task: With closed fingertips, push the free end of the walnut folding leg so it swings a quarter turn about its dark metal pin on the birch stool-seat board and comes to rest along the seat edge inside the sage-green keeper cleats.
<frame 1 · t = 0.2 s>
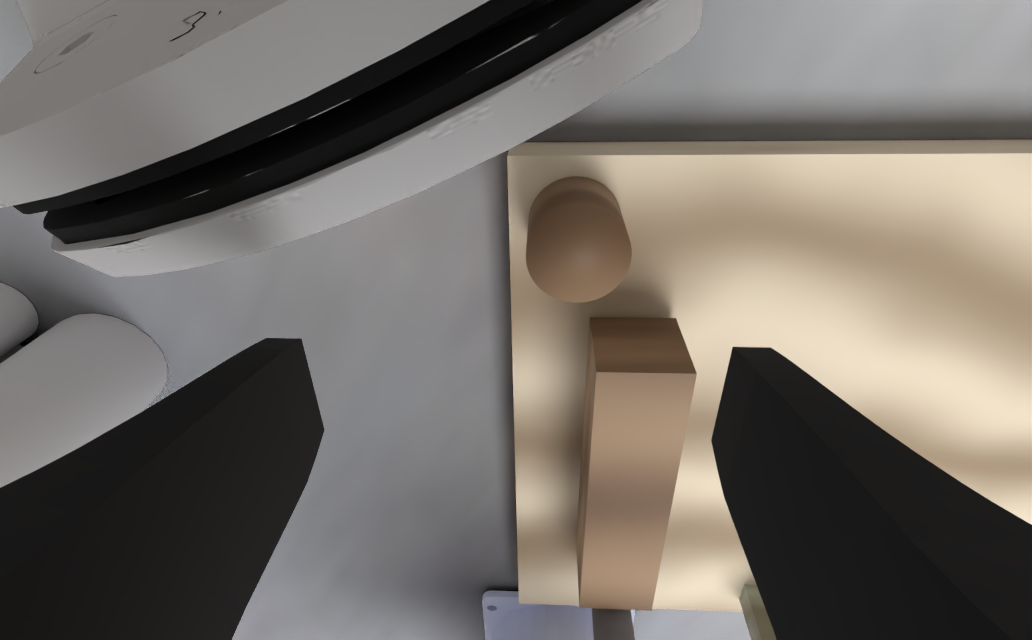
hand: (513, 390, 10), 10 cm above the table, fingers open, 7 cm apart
folding leg: (623, 476, 20), point 3 cm above the table, hinge at 0.0°
vase: (36, 364, 23), on the table
seat board: (788, 418, 22), on the table
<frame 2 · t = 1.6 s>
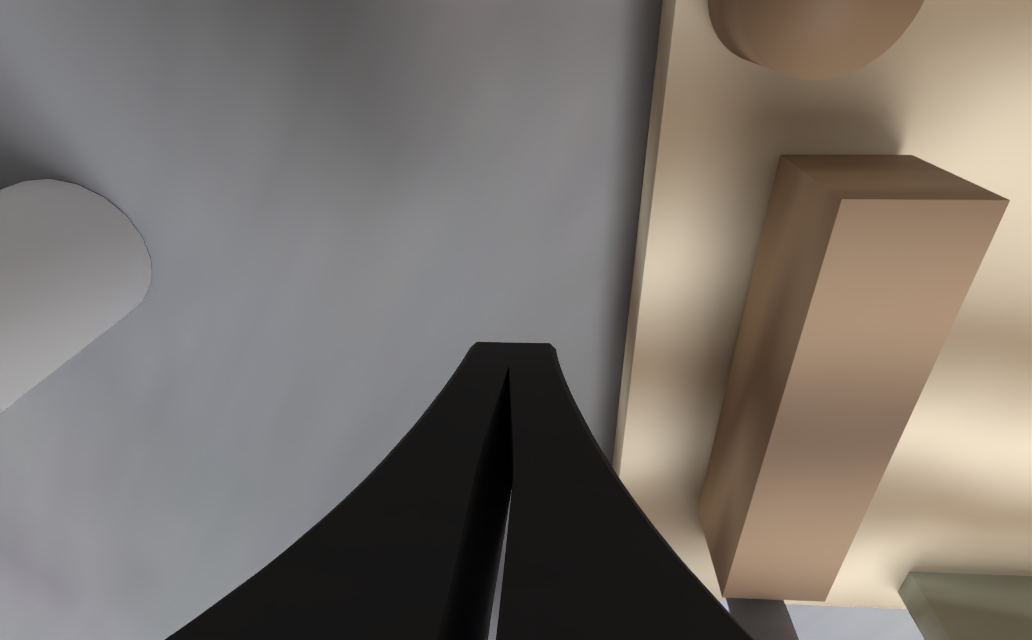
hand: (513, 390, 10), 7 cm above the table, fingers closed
folding leg: (805, 404, 14), point 3 cm above the table, hinge at 0.0°
seat board: (1004, 339, 16), on the table
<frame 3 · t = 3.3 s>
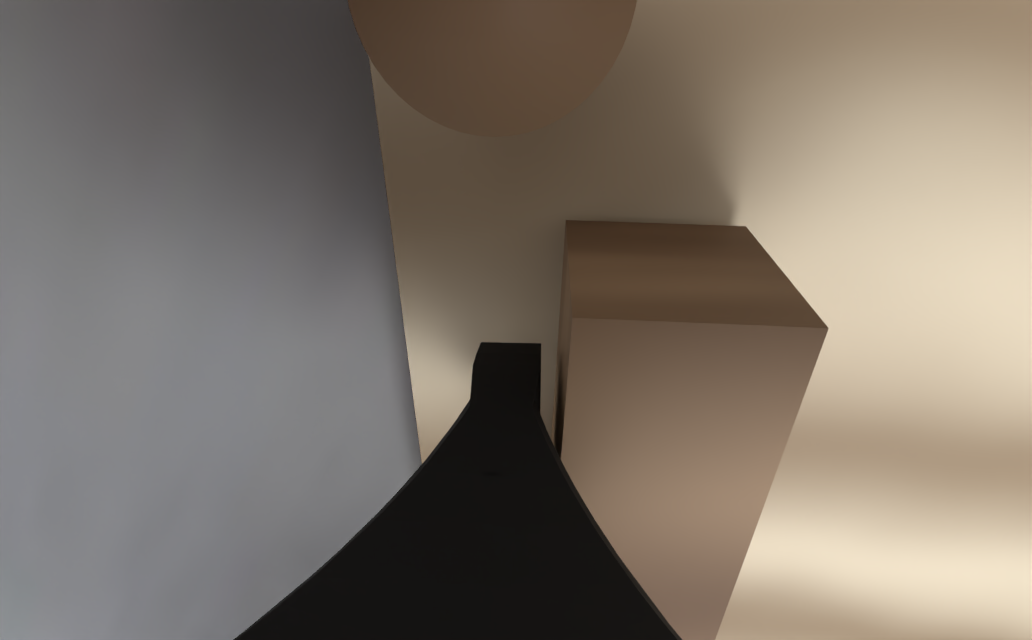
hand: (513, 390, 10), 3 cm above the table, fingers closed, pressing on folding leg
folding leg: (623, 542, 10), point 3 cm above the table, hinge at 1.4°, touching gripper
seat board: (903, 434, 13), on the table
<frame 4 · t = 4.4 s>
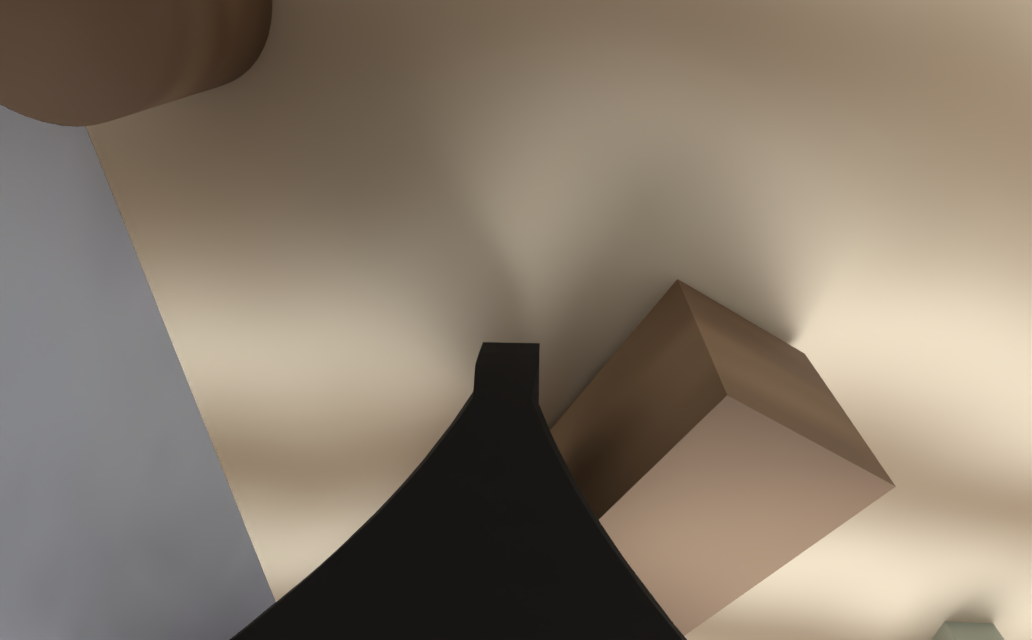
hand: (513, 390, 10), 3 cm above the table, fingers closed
folding leg: (561, 570, 11), point 3 cm above the table, hinge at 30.7°, touching gripper
seat board: (705, 424, 13), on the table
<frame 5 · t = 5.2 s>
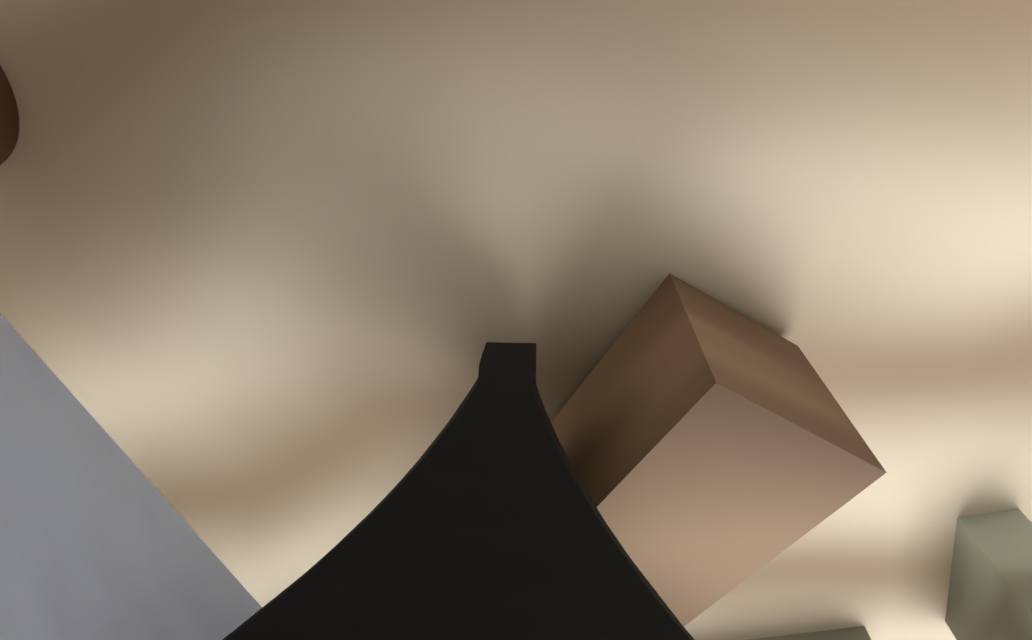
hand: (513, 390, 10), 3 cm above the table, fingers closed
folding leg: (561, 565, 11), point 3 cm above the table, hinge at 46.8°, touching gripper
seat board: (614, 361, 12), on the table
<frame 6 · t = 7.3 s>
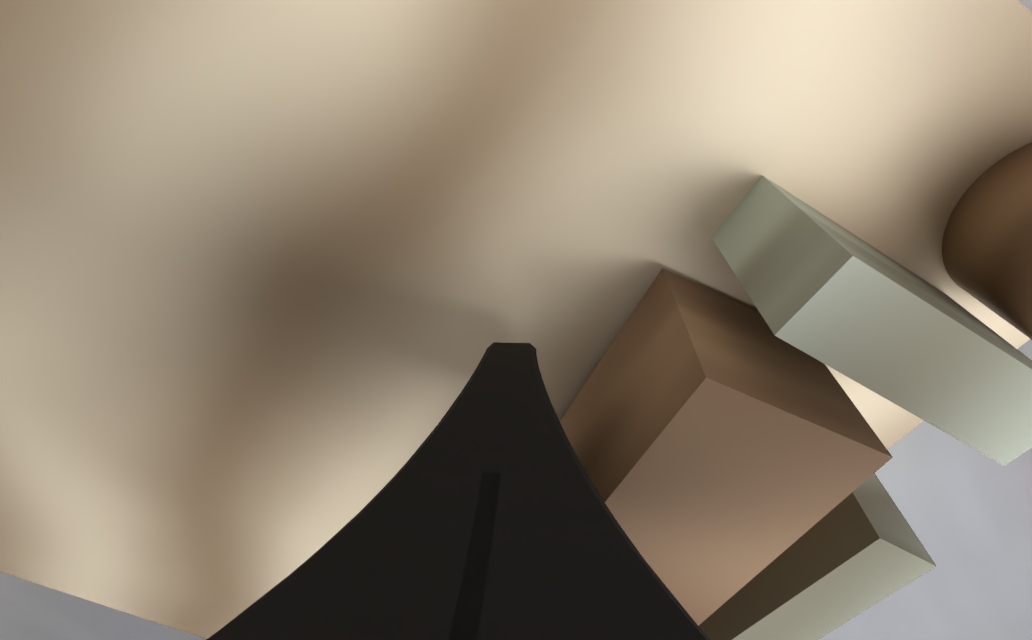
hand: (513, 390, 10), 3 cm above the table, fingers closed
folding leg: (578, 566, 11), point 3 cm above the table, hinge at 85.1°, touching gripper
seat board: (328, 335, 12), on the table
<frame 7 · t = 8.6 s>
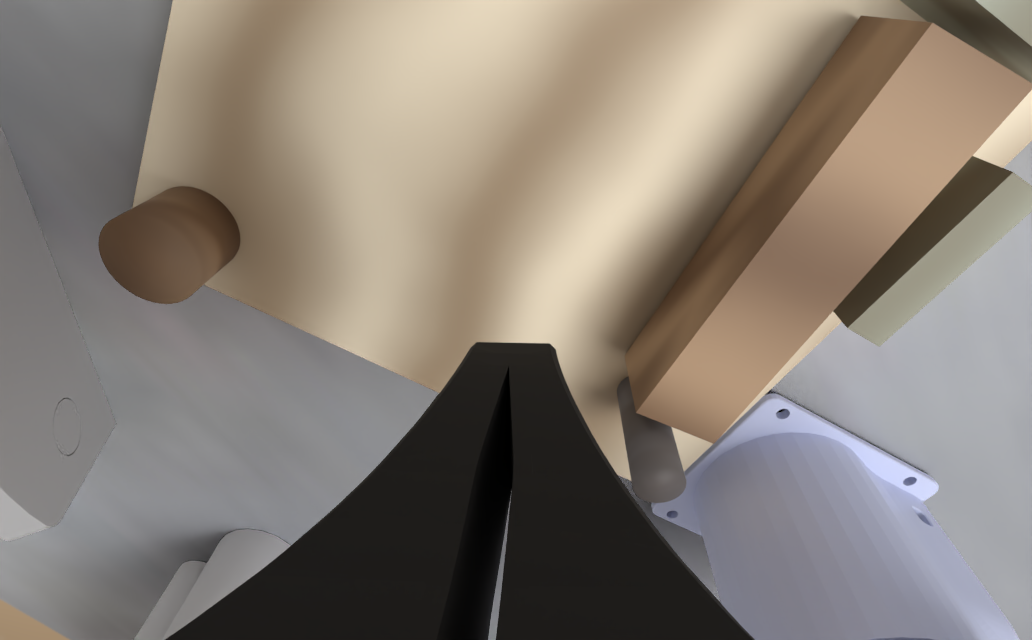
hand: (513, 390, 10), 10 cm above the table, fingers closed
folding leg: (779, 254, 16), point 3 cm above the table, hinge at 85.2°
vase: (251, 590, 31), on the table
seat board: (579, 112, 17), on the table
hinge: (30, 254, 21), on the table
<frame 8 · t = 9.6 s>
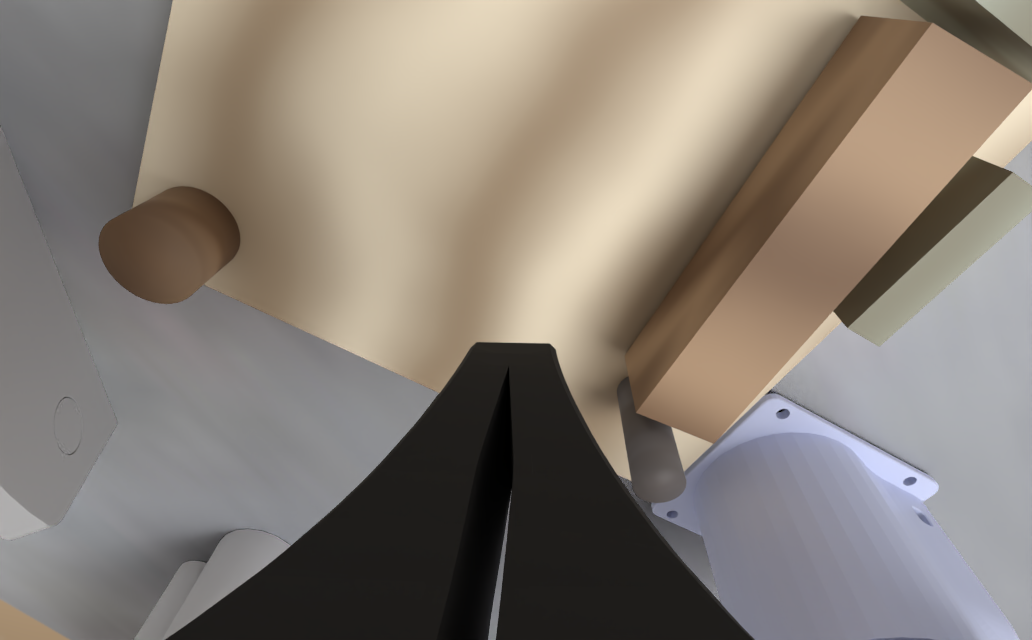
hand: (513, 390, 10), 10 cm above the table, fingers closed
folding leg: (779, 254, 16), point 3 cm above the table, hinge at 85.2°
vase: (251, 590, 31), on the table
seat board: (579, 112, 17), on the table
hinge: (30, 253, 21), on the table
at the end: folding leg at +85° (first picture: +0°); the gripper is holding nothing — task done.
